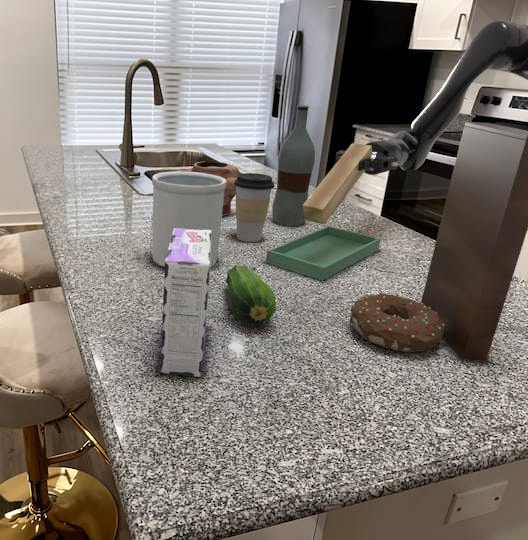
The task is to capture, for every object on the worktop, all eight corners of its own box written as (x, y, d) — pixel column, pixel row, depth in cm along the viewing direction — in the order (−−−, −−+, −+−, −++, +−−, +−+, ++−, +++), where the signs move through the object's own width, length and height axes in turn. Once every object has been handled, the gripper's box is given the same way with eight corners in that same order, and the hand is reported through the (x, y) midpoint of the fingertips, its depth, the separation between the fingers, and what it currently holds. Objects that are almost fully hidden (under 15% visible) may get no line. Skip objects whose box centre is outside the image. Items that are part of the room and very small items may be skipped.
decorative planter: (171, 217, 138) (173, 166, 133) (170, 206, 149) (172, 157, 144) (245, 220, 139) (250, 168, 133) (238, 208, 150) (242, 160, 145)
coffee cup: (242, 246, 118) (248, 181, 113) (222, 234, 126) (226, 173, 121) (276, 242, 122) (283, 179, 116) (254, 230, 130) (260, 171, 124)
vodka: (304, 218, 142) (320, 105, 131) (307, 228, 133) (324, 108, 122) (270, 216, 143) (283, 103, 132) (270, 225, 135) (284, 106, 124)
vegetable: (248, 283, 77) (233, 241, 95) (223, 320, 79) (213, 273, 98) (289, 304, 78) (266, 259, 96) (263, 341, 80) (246, 290, 99)
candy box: (169, 325, 81) (173, 226, 75) (206, 328, 81) (213, 228, 75) (158, 374, 68) (162, 259, 62) (202, 378, 68) (211, 262, 62)
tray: (326, 236, 128) (328, 225, 126) (378, 250, 119) (380, 238, 118) (265, 262, 109) (267, 250, 108) (322, 281, 101) (324, 267, 100)
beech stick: (372, 160, 113) (371, 145, 110) (324, 224, 104) (322, 209, 101) (353, 158, 116) (352, 143, 113) (305, 219, 106) (302, 205, 104)
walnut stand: (438, 312, 89) (488, 122, 77) (486, 361, 75) (557, 136, 63) (418, 311, 90) (465, 121, 78) (461, 359, 75) (527, 135, 63)
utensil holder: (171, 243, 118) (174, 167, 112) (230, 256, 112) (238, 176, 105) (136, 262, 106) (137, 178, 100) (200, 278, 100) (206, 189, 93)
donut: (334, 315, 87) (339, 288, 85) (411, 315, 88) (418, 288, 86) (371, 361, 74) (378, 330, 72) (461, 360, 75) (470, 330, 73)
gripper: (354, 137, 124) (320, 142, 112) (414, 144, 115) (385, 150, 103) (348, 168, 127) (315, 176, 115) (407, 177, 118) (378, 187, 106)
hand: (348, 163), depth 109 cm, fingers closed on beech stick, 4 cm apart
